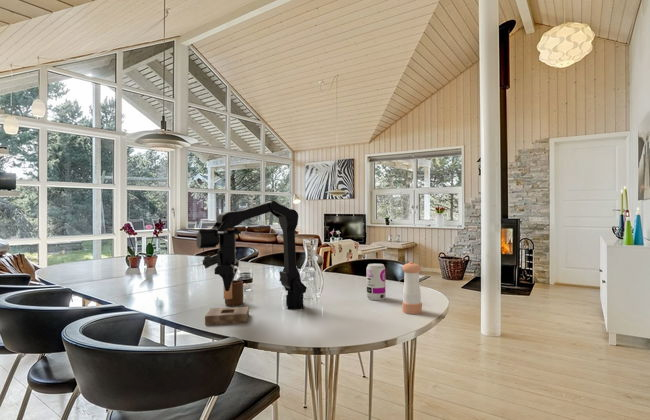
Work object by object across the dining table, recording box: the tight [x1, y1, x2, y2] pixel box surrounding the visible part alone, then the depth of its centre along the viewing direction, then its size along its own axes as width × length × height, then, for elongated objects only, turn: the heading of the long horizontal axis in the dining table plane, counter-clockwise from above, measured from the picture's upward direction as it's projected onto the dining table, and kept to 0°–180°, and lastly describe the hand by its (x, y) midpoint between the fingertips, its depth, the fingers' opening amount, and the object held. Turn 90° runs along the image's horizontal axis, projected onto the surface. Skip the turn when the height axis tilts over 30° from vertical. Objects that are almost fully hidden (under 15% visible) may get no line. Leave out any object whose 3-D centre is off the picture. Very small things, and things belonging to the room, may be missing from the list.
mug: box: [224, 279, 244, 307], centre depth 149 cm, size 12×8×9 cm, turn 173°
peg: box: [222, 282, 232, 300], centre depth 129 cm, size 3×3×10 cm
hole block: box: [204, 306, 250, 326], centre depth 129 cm, size 14×10×3 cm
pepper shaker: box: [401, 261, 423, 315], centre depth 137 cm, size 7×7×19 cm
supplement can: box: [366, 263, 387, 301], centre depth 158 cm, size 8×8×15 cm
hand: (227, 290), depth 129 cm, fingers closed on peg, 3 cm apart
